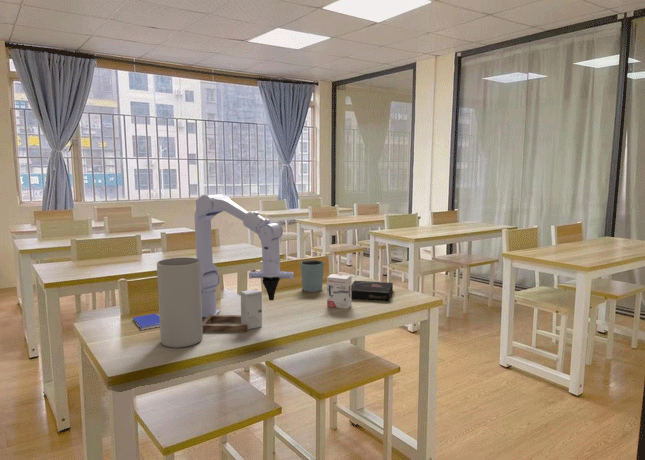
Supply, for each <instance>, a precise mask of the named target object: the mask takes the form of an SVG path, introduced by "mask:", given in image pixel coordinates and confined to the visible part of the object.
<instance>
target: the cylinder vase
mask: <svg viewBox="0 0 645 460" xmlns="http://www.w3.org/2000/svg"><path fill="white" fill-rule="evenodd" d="M156 275H157V276H156V277H157V292H158V313H159V314H158V316H159V317H160V327H159V333H160V342H161V344H162V345H163V346H165V347H168V348H175V349H176V348H186V347H190V346H194V345H196V344H199V343H200V342H201V341H202V340H203V337H204V335H203V334H204V333H203V332H204V331H203V328H202V322H203V317H202V301H201V275H200V260H199V259H197V257H196V258H195V257H183V256H182V257H172V258H171V257H170V258H165V259H161V260H158V261H156Z"/></svg>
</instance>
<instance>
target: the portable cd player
mask: <svg viewBox="0 0 645 460" xmlns="http://www.w3.org/2000/svg"><path fill="white" fill-rule="evenodd" d="M393 285H394V282H384V281H370V280H369V281H366V280H365V281H364V280H354V281H353V282H352V283H351V300H358V301H359V300H360V301H373V302H375V301H376V302H387V303H388V302H390V300H391V297H392V293H393V289H394V287H393Z"/></svg>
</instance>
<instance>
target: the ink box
mask: <svg viewBox="0 0 645 460" xmlns="http://www.w3.org/2000/svg"><path fill="white" fill-rule="evenodd" d="M351 285H352V276H351V275H345V274H336V273H332V274H329V275H328V276H327V277H326V306H327V307H329V308H336V309H337V308H338V309H346V310H347V309H349V308H350V307H352V299H351Z"/></svg>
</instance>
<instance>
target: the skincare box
mask: <svg viewBox="0 0 645 460" xmlns="http://www.w3.org/2000/svg"><path fill="white" fill-rule="evenodd" d="M262 293H263V292H262V291H261V290H258V289H247V290H241V291H240V315H241V322H240V324H242V325H248V330H250V329H257V328H260V327H262V326H263V312H262V311H263V307H262V306H263V305H262V304H263V301H262V300H263V299H262V298H263V294H262Z"/></svg>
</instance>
